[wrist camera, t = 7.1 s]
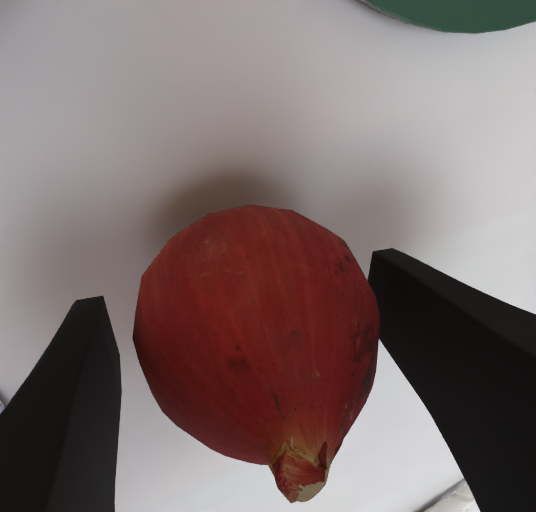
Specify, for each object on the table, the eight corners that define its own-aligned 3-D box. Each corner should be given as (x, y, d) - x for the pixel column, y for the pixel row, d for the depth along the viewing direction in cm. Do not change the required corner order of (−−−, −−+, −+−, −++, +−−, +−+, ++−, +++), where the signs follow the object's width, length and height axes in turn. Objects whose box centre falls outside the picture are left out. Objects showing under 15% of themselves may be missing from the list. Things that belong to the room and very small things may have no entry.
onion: (311, 142, 12) (514, 327, 6) (314, 292, 16) (446, 514, 9) (107, 180, 11) (85, 454, 5) (157, 332, 15) (183, 613, 8)
